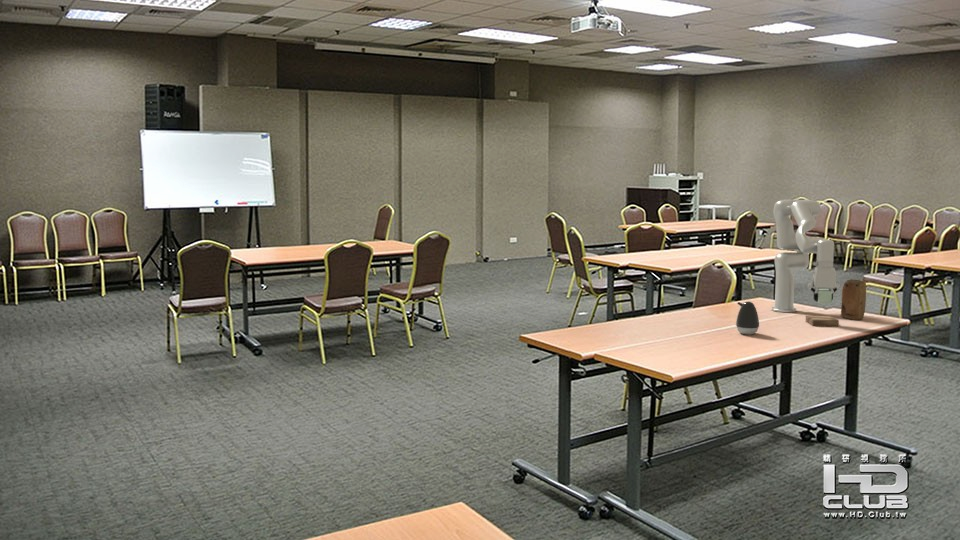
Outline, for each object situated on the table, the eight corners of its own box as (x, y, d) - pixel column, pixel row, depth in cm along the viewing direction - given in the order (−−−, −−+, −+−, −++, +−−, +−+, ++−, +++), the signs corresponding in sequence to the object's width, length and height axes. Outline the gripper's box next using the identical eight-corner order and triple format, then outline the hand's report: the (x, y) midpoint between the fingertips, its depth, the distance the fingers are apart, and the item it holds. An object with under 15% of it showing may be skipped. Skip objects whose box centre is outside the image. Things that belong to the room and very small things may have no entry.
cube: (814, 301, 395) (815, 289, 395) (827, 301, 395) (827, 289, 394) (818, 303, 389) (819, 291, 389) (831, 303, 389) (832, 291, 388)
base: (805, 321, 400) (805, 315, 400) (830, 321, 399) (830, 315, 399) (812, 326, 388) (813, 319, 388) (838, 326, 387) (838, 320, 387)
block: (866, 319, 406) (868, 280, 404) (859, 321, 401) (862, 281, 398) (844, 316, 414) (846, 278, 411) (838, 318, 409) (840, 279, 406)
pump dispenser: (741, 330, 378) (743, 298, 377) (762, 333, 371) (763, 301, 369) (731, 333, 371) (732, 301, 369) (752, 336, 364) (753, 304, 362)
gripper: (808, 265, 387) (807, 302, 389) (845, 265, 385) (843, 302, 387) (804, 264, 395) (802, 300, 397) (840, 264, 393) (838, 300, 395)
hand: (823, 300), depth 392 cm, fingers closed on cube, 6 cm apart
